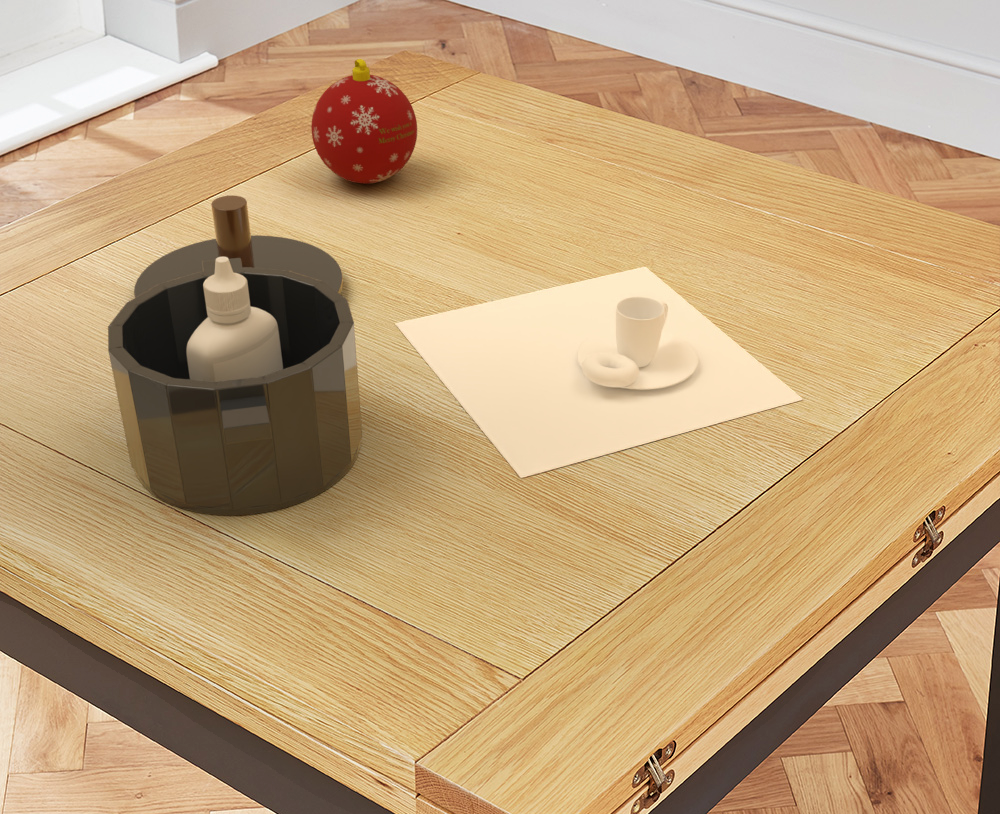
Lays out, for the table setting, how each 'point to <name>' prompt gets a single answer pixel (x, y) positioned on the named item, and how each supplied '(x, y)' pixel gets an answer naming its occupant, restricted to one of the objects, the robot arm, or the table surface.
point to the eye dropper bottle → (232, 332)
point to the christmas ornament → (364, 127)
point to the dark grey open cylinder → (238, 397)
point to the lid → (241, 251)
